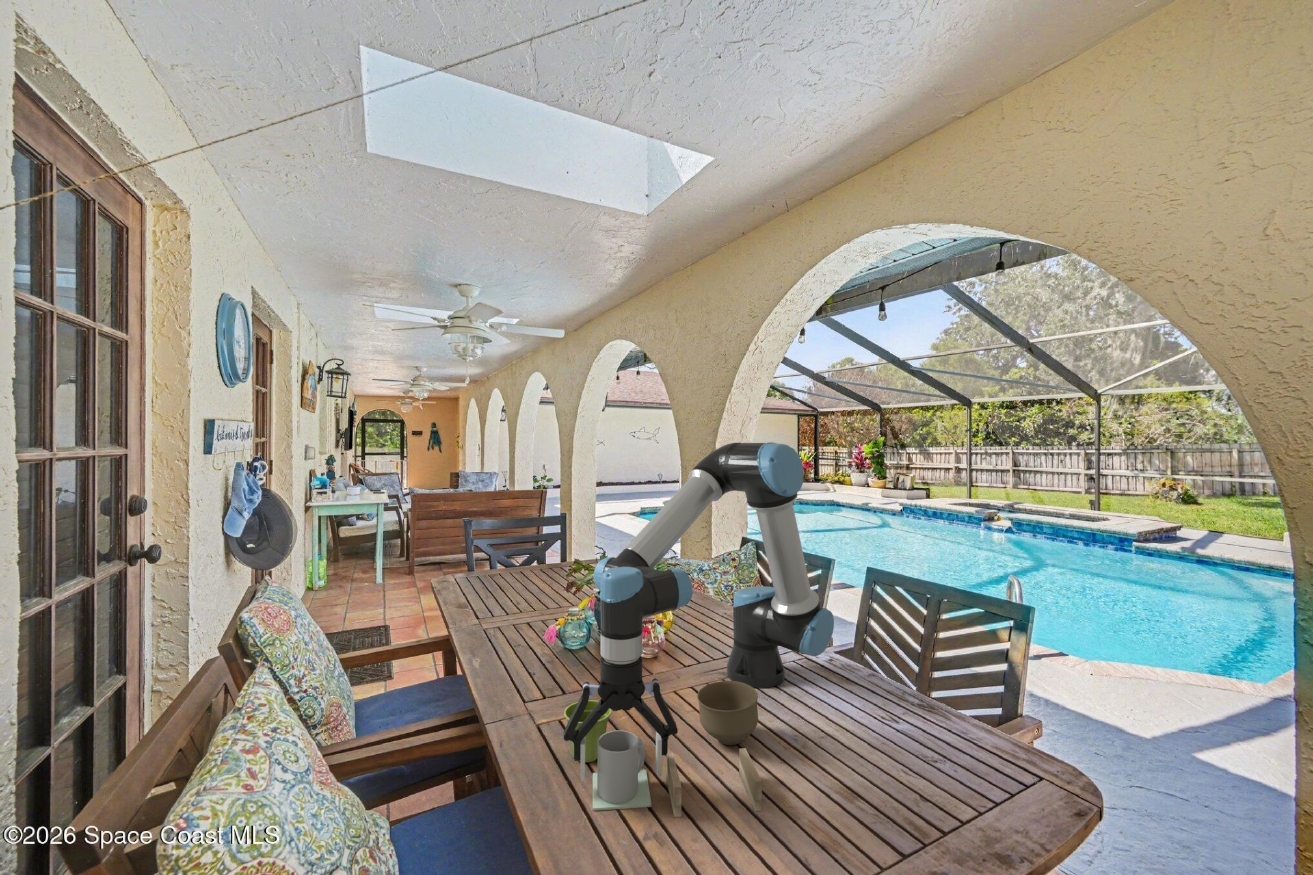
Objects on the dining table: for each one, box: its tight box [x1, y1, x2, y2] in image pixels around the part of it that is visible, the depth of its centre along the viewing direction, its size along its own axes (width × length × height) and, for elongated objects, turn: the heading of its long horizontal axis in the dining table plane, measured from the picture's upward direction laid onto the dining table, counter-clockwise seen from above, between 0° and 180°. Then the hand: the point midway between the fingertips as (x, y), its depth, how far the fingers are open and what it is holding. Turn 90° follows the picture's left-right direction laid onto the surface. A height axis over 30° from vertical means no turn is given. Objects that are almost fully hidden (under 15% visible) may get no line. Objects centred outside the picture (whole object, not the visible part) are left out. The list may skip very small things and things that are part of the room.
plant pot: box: [563, 699, 613, 763], centre depth 110 cm, size 9×9×9 cm
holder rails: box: [665, 747, 763, 818], centre depth 98 cm, size 15×10×5 cm, turn 97°
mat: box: [592, 769, 652, 812], centre depth 99 cm, size 10×10×1 cm
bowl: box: [696, 680, 759, 746], centre depth 115 cm, size 13×13×10 cm
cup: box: [596, 729, 646, 804], centre depth 99 cm, size 7×10×9 cm
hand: (620, 774), depth 99 cm, fingers open, 13 cm apart
